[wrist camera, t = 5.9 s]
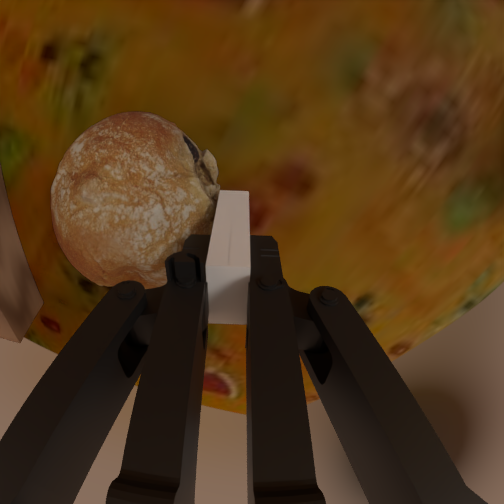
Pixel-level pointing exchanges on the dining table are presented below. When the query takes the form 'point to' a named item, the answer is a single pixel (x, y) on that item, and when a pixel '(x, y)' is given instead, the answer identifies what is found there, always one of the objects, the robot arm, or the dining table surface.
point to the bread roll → (131, 198)
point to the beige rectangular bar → (14, 278)
